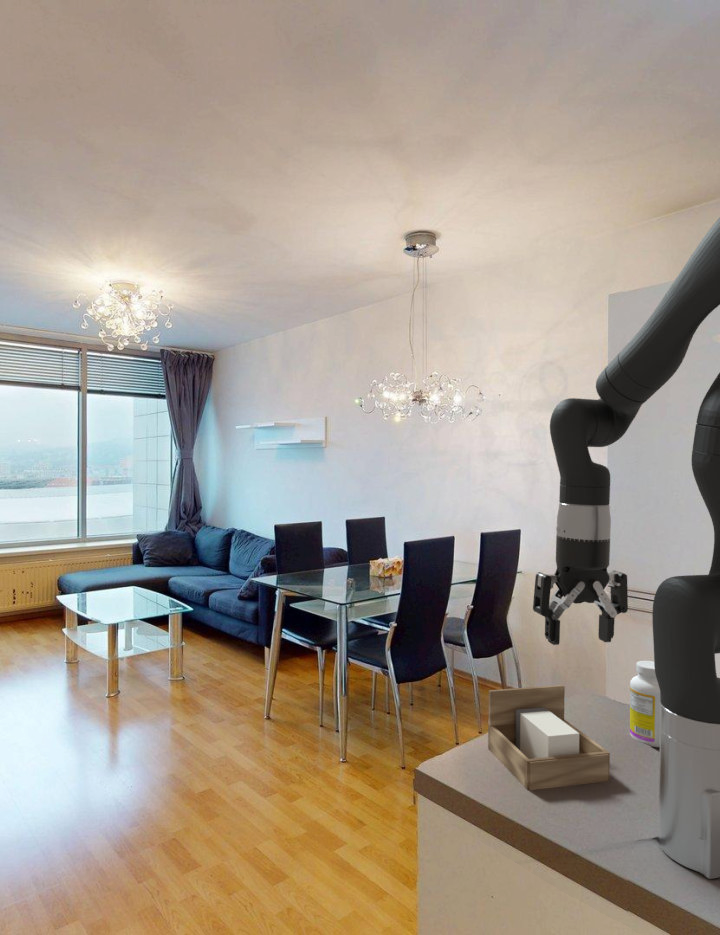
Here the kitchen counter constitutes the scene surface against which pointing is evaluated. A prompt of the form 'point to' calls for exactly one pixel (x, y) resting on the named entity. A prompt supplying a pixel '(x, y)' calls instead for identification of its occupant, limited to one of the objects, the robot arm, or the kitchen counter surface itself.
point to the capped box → (544, 734)
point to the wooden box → (546, 770)
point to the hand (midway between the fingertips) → (579, 642)
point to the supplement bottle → (645, 705)
